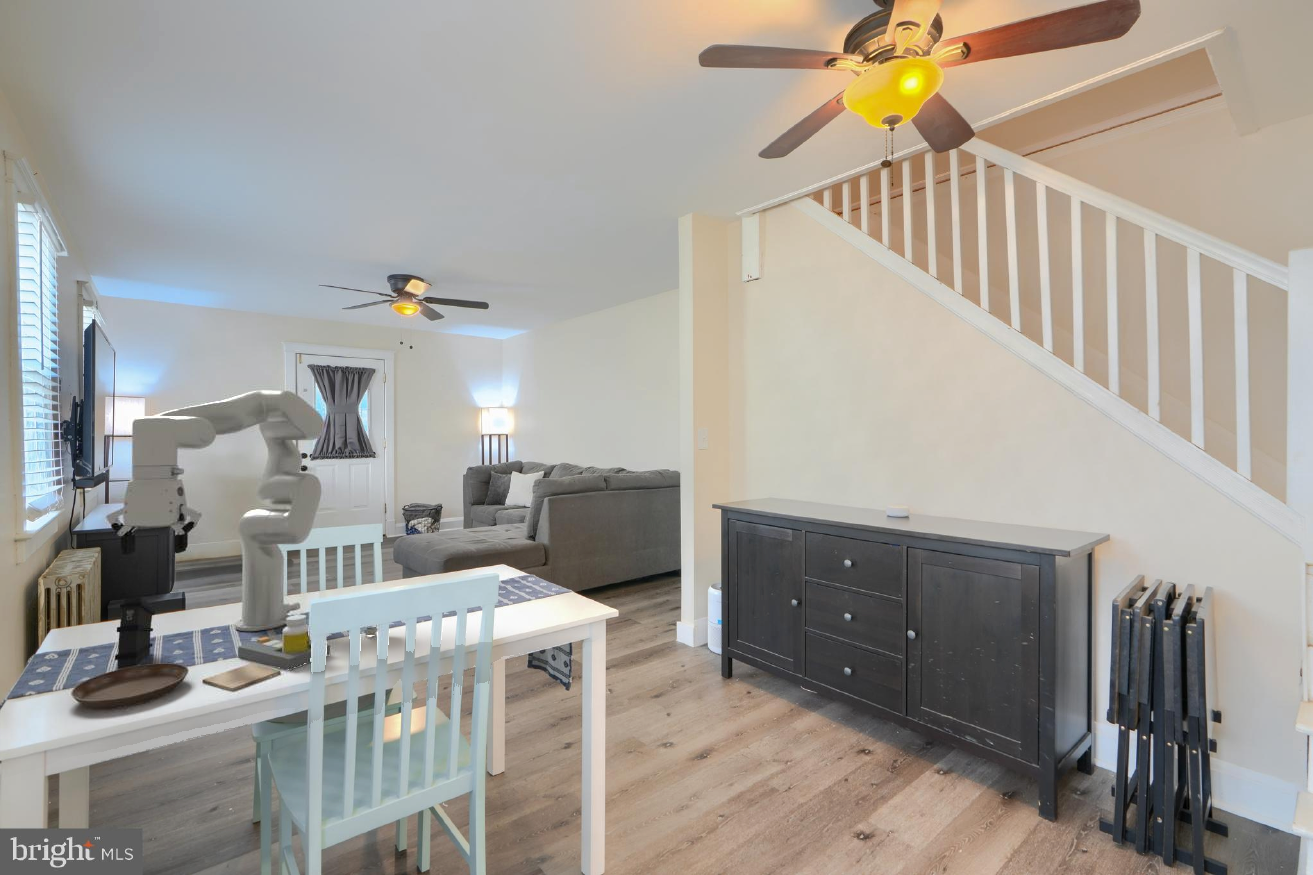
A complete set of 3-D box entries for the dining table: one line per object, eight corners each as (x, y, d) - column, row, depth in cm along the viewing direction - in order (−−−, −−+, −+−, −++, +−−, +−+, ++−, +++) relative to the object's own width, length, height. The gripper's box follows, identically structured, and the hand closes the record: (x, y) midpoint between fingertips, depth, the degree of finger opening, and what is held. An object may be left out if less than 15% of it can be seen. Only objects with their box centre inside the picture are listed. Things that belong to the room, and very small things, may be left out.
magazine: (109, 669, 128) (120, 598, 134) (128, 675, 139) (138, 609, 144) (132, 666, 130) (142, 596, 135) (149, 672, 140) (158, 608, 146)
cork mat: (251, 665, 135) (251, 663, 135) (280, 673, 131) (280, 670, 131) (202, 682, 126) (202, 679, 126) (232, 691, 122) (232, 688, 122)
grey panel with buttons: (279, 643, 149) (280, 631, 149) (330, 655, 142) (330, 642, 142) (238, 657, 140) (238, 644, 140) (289, 670, 133) (289, 656, 133)
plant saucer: (187, 698, 119) (187, 683, 119) (63, 724, 108) (63, 707, 108) (188, 670, 133) (189, 656, 133) (78, 690, 122) (78, 675, 122)
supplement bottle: (311, 659, 139) (312, 617, 139) (284, 665, 135) (285, 622, 135) (305, 653, 143) (306, 612, 143) (279, 658, 139) (280, 616, 139)
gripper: (209, 472, 135) (209, 548, 135) (119, 472, 131) (119, 550, 131) (191, 474, 128) (190, 555, 128) (95, 475, 124) (95, 557, 124)
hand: (154, 552), depth 130 cm, fingers open, 9 cm apart
